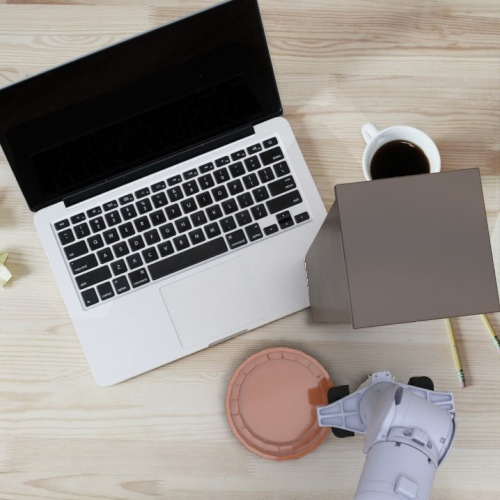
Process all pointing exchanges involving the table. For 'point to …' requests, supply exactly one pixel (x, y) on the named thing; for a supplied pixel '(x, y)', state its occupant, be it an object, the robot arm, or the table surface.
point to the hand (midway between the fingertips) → (373, 399)
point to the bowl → (278, 403)
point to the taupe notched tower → (403, 252)
